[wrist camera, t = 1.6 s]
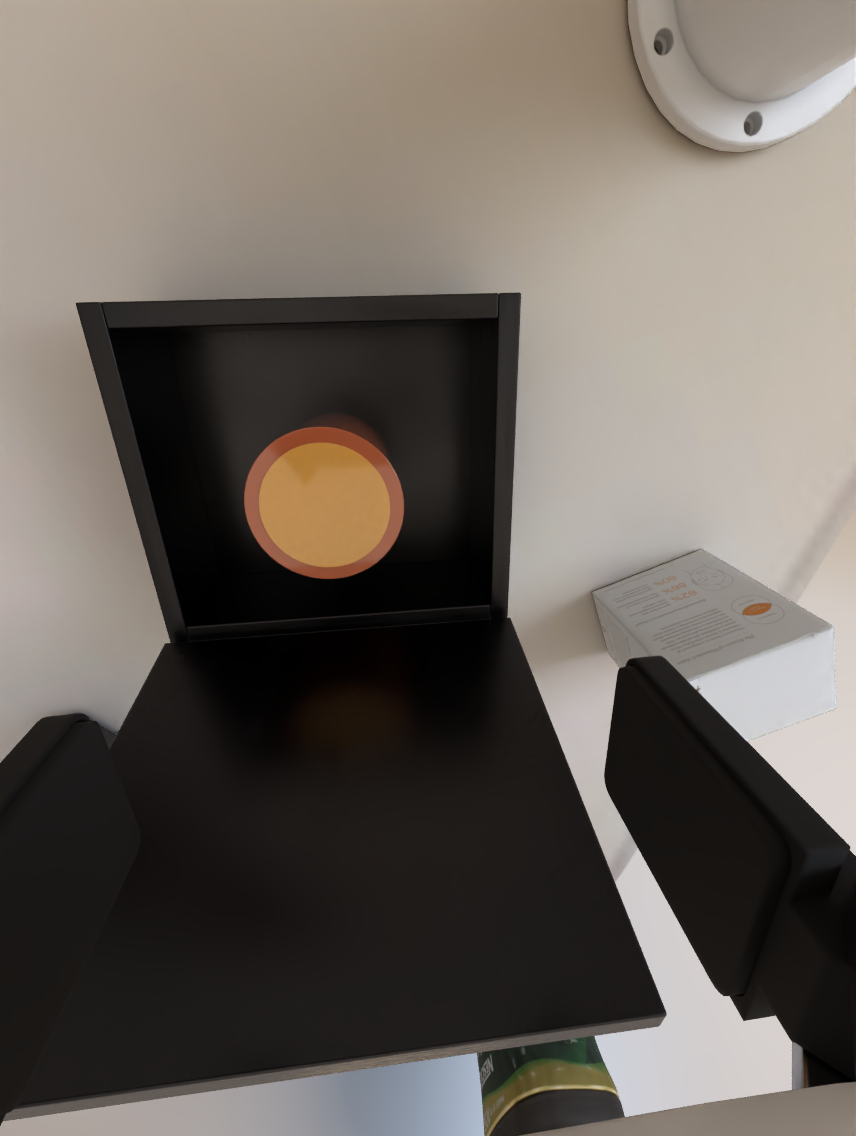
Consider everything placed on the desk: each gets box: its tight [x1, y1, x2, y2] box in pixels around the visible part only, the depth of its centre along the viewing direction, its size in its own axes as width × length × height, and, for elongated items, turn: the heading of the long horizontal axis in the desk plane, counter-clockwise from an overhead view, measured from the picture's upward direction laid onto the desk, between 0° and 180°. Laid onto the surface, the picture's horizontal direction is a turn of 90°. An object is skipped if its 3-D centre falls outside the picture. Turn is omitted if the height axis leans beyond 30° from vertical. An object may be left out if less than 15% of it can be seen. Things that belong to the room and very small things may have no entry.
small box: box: [592, 549, 836, 741], centre depth 30 cm, size 8×6×10 cm
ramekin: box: [244, 413, 404, 579], centre depth 24 cm, size 7×7×8 cm
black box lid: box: [3, 618, 666, 1121], centre depth 19 cm, size 16×17×4 cm
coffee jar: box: [477, 1036, 625, 1136], centre depth 37 cm, size 10×8×19 cm
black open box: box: [76, 293, 521, 643], centre depth 25 cm, size 15×17×7 cm
